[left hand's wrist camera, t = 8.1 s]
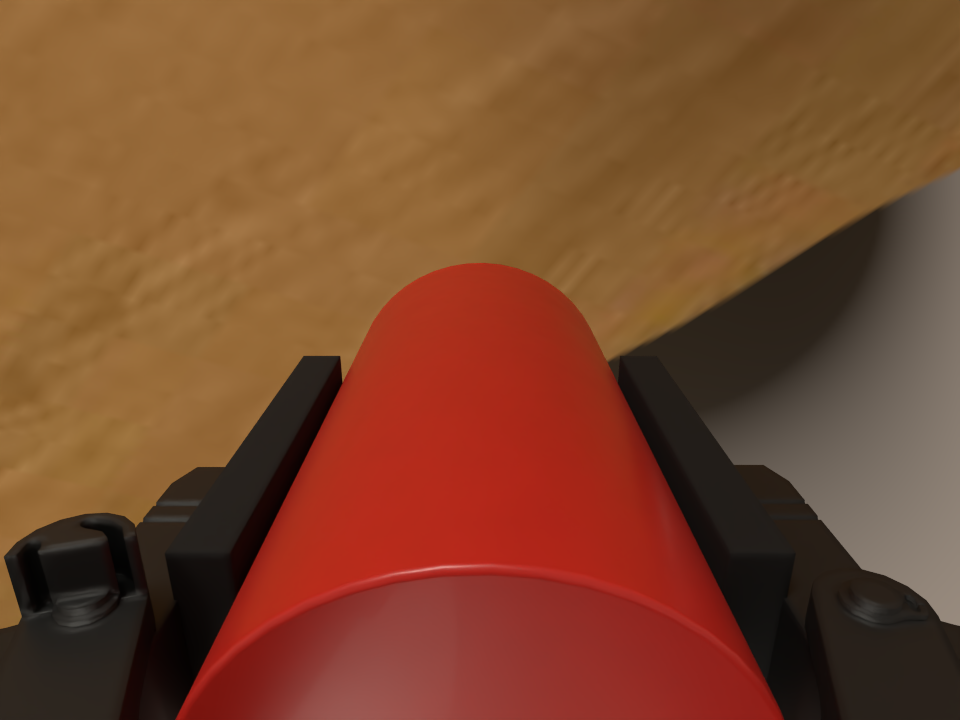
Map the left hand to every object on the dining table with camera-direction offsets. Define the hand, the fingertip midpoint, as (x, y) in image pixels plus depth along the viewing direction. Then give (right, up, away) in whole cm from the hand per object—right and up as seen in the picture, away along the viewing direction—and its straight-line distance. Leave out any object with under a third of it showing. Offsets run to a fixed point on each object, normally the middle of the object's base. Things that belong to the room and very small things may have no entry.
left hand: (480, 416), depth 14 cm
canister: (0, +1, +2) cm, 2 cm away
